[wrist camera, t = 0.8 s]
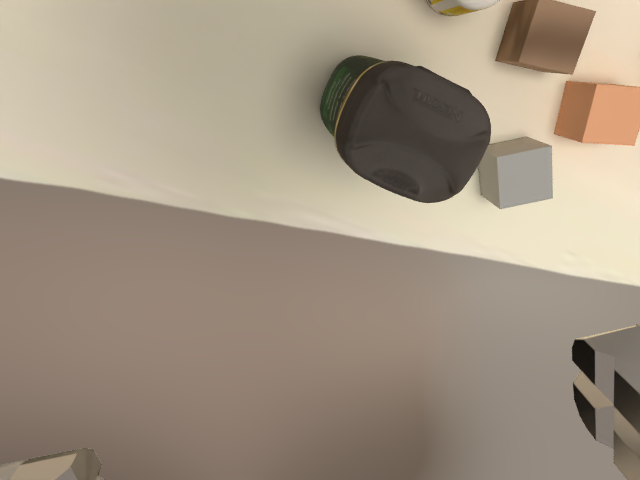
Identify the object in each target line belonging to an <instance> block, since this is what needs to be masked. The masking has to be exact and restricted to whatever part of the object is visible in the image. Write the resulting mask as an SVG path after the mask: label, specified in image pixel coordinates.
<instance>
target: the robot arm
mask: <svg viewBox="0 0 640 480" xmlns="http://www.w3.org/2000/svg"><path fill="white" fill-rule="evenodd" d="M572 361H573V362H574V363H575V364H576V365H577V366H578V367H579V369H580V370H581V371H580V373H579V374H578V376H577V377H576V379H575V380H574V382H573V391H574V400H575V403H576V406H577V409H578V412H579V415H580V417H581V419H582V421H583V423H584V424H585V426H586V428H587V429H588V431H589V432H590V433H591V435H592V436H593V437H594V439H595V440H596V441H598V442H600V443H602V444H605V445H607V446H609V447H611V448H613V449H614V464H615V465H616V466H617V468H618V469H619V470H620V471H621V473H622V474H623V475H624V476H625V478H626V479H627V480H640V324H636V326H631V327H627V328H622V329H618V330H614V331H609V332H605V333H600V334H596V335H592V336H587V337H583V338H579V339H575V340H574V343H573V346H572ZM101 466H102V464H101V462H100V460H99V458H98V456H97V455H96V453H95V452H94V450H92V449H88V448H82V449H77V450H72V451H66V452H61V453H57V454H51V455H46V456H41V457H36V458H31V459H28V460H23V461H18V462H13V463H8V464H4V465H0V480H104V479H103V478H101V477H99V476H98V475H99V472H100V469H101Z"/></svg>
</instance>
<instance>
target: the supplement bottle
mask: <svg viewBox="0 0 640 480" xmlns="http://www.w3.org/2000/svg"><path fill="white" fill-rule="evenodd" d="M498 1H500V0H427V2H428V4H429V5H430V6H431V7H432V8H433V9H434V10H435V11H436V12H438V13H440V14H442V15H446V16H457V15H461V14H465V13H469V12H474V11H478V10H482V9H485V8H488V7H490V6H492V5H494V4H496V3H497V2H498Z"/></svg>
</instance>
